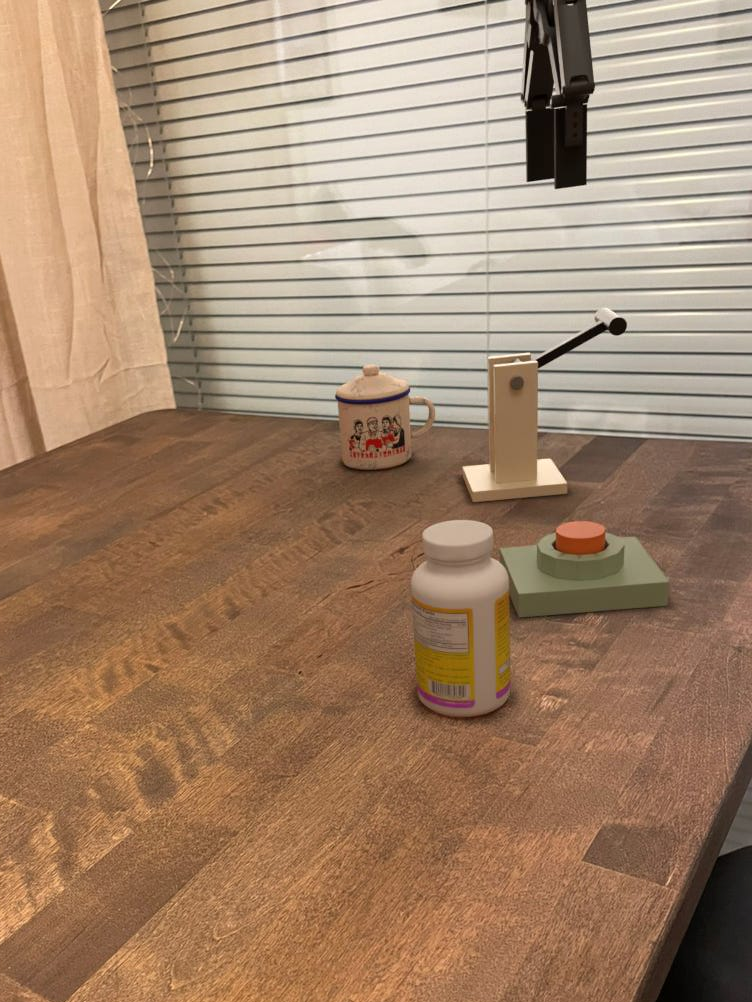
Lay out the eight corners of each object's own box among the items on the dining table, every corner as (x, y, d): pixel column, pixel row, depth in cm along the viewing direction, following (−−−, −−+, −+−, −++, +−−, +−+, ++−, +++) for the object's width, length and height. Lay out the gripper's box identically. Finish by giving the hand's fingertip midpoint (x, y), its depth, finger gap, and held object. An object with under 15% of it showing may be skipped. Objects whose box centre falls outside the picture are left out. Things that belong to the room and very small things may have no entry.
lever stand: (550, 468, 115) (552, 346, 109) (567, 493, 107) (570, 363, 101) (462, 476, 116) (459, 355, 110) (472, 502, 108) (469, 373, 102)
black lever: (615, 321, 106) (606, 301, 105) (631, 332, 101) (621, 311, 100) (500, 386, 110) (491, 367, 109) (509, 400, 104) (499, 380, 104)
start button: (598, 538, 87) (599, 519, 86) (610, 555, 83) (611, 536, 82) (551, 542, 87) (551, 523, 86) (560, 559, 84) (561, 540, 83)
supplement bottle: (485, 667, 76) (482, 507, 70) (527, 708, 70) (527, 537, 65) (403, 686, 75) (393, 525, 69) (438, 730, 69) (431, 558, 63)
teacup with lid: (343, 475, 121) (335, 378, 116) (337, 453, 130) (330, 362, 124) (442, 463, 121) (439, 366, 116) (430, 443, 129) (426, 351, 124)
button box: (634, 558, 91) (636, 517, 89) (667, 606, 82) (671, 560, 80) (499, 570, 92) (499, 529, 90) (518, 618, 83) (518, 573, 81)
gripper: (488, -52, 99) (494, 182, 109) (537, -104, 77) (540, 196, 86) (565, -64, 98) (565, 172, 108) (638, -120, 76) (630, 184, 86)
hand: (554, 183), depth 97 cm, fingers open, 13 cm apart
